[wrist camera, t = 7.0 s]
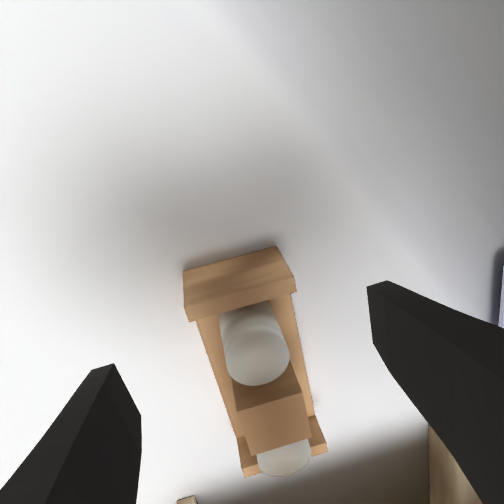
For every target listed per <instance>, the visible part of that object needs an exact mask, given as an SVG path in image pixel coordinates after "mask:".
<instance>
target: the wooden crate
mask: <svg viewBox="0 0 504 504" xmlns="http://www.w3.org/2000/svg"><path fill="white" fill-rule="evenodd" d="M428 424H429V423H428ZM429 486H430V504H482V502H481V501H480V499H479V497H478V496H477V494H476V492H475V491H474V489H473V488H472V486H471V484H470V483H469V481H468V480H467V478H466V476H465V475H464V473H463V472H462V470H461V468H460V467H459V465H458V464H457V462H456V460H455V459H454V457H453V456H452V455H451V453H450V452H449V450H448V449H447V447H446V446H445V445H444V443H443V442H442V440H441V439H440V438H439V437H438V435H437V434H436V433H435V431H434V430H433V429H432V427H431V426H430V425H429ZM177 504H197V501H196V499H195V497H194V496H191V497H188V498H184V499H181V500H178V501H177Z"/></svg>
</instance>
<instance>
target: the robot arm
mask: <svg viewBox="0 0 504 504" xmlns="http://www.w3.org/2000/svg"><path fill="white" fill-rule="evenodd" d="M367 295H368V304H369V313H370V321H371V330H372V339H373V344H374V346H375V347H376V349H377V351H378V353H379V354H380V356H381V358H382V360H383V361H384V363H385V365H386V366H387V368H388V370H389V372H390V373H391V375H392V376H393V377H394V379H395V380H396V381H397V383H398V384H399V385H400V387H401V388H402V389H403V391H404V392H405V393H406V395H407V396H408V397H409V399H410V400H411V401H412V403H413V404H414V405H415V406H416V408H417V409H418V410H419V412H420V413H421V414H422V416H423V417H424V418H425V420H426V421H427V422H428V423H429V425H430V426H431V427H432V429H433V430H434V431H435V433H436V434H437V435H438V437H439V438H440V439H441V440H442V442H443V443H444V445H445V446H446V447H447V449H448V450H449V452H450V453H451V455H452V456H453V457H454V459H455V460H456V462H457V464H458V465H459V467H460V468H461V470H462V472H463V473H464V475H465V476H466V478H467V480H468V481H469V483H470V484H471V486H472V488H473V489H474V491H475V492H476V494H477V496H478V497H479V499H480V501H481V502H482V504H504V267H503V279H502V290H501V302H500V313H499V325H498V326H496V325H493V324H491V323H488V322H485V321H482V320H480V319H477V318H474V317H472V316H469V315H467V314H464V313H462V312H459V311H457V310H454V309H452V308H449V307H447V306H445V305H442V304H440V303H438V302H435V301H433V300H431V299H429V298H426V297H424V296H422V295H420V294H417V293H415V292H413V291H411V290H408V289H406V288H404V287H402V286H399V285H397V284H395V283H392V282H390V281H383V282H380V283H377V284H374V285H370V286H367ZM141 453H142V434H141V415H140V413H139V411H138V409H137V407H136V405H135V403H134V401H133V399H132V397H131V395H130V393H129V391H128V389H127V388H126V386H125V384H124V382H123V380H122V378H121V376H120V374H119V372H118V370H117V368H116V366H115V364H114V363H113V364H110V365H106V366H103V367H100V368H97V369H93V370H91V371H90V373H89V374H88V375H87V377H86V378H85V379H84V381H83V382H82V383H81V385H80V386H79V387H78V389H77V390H76V392H75V393H74V394H73V396H72V397H71V399H70V400H69V401H68V403H67V404H66V406H65V407H64V408H63V410H62V411H61V412H60V414H59V415H58V417H57V418H56V419H55V421H54V422H53V423H52V425H51V426H50V428H49V429H48V430H47V432H46V433H45V434H44V436H43V437H42V438H41V440H40V441H39V442H38V444H37V445H36V446H35V447H34V449H33V450H32V451H31V452H30V454H29V455H28V456H27V457H26V459H25V460H24V461H23V463H22V464H21V465H20V466H19V468H18V469H17V470H16V471H15V473H14V474H13V475H12V477H11V478H10V479H9V480H8V481H7V483H6V484H5V485H4V486H3V487H2V488H1V490H0V504H136V499H137V490H138V481H139V472H140V463H141Z"/></svg>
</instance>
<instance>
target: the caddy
mask: <svg viewBox="0 0 504 504" xmlns="http://www.w3.org/2000/svg"><path fill="white" fill-rule="evenodd" d="M183 290H184V309H185V312H186V315H187V317H188V320H189V322H192V321H195V320H196V323H197V326H198V329H199V332H200V335H201V337H202V340H203V343H204V346H205V349H206V352H207V355H208V358H209V361H210V363H211V366H212V369H213V372H214V375H215V378H216V381H217V384H218V386H219V389H220V392H221V395H222V398H223V401H224V404H225V407H226V409H227V412H228V415H229V418H230V421H231V424H232V427H233V430H234V433H235V435H236V438H237V443H238V450H239V456H240V462H241V468H242V471H243V474H244V477H245V478H246V477H249V476H252V475H256V474H259V473H262V472H263V473H265V474H267V475H270V476H275V477H281V476H287V475H290V474H293V473H295V472H297V471H299V470H300V469H302V468H303V467H304V466H305V465H306V464H307V463H308V461H309V460H310V457H313V456H316V455H319V454H322V453H325V452H328V449H327V444H326V441H325V438H324V436H323V433H322V431H321V429H320V426H319V424H318V421H317V419H316V416H315V412H314V407H313V403H312V398H311V393H310V388H309V383H308V378H307V373H306V368H305V363H304V359H303V354H302V349H301V344H300V339H299V334H298V329H297V324H296V319H295V314H294V310H293V305H292V300H291V295H290V293H294V292H297V290H296V285H295V280H294V276H293V274H292V272H291V271H290V269H289V267H288V266H287V264H286V262H285V260H284V259H283V257H282V255H281V253H280V252H279V250H278V248H277V247H276V246H274V247H270V248H266V249H263V250H259V251H255V252H252V253H248V254H244V255H241V256H237V257H234V258H230V259H226V260H223V261H219V262H215V263H212V264H208V265H205V266H201V267H197V268H194V269H190V270H186V271H183Z"/></svg>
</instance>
